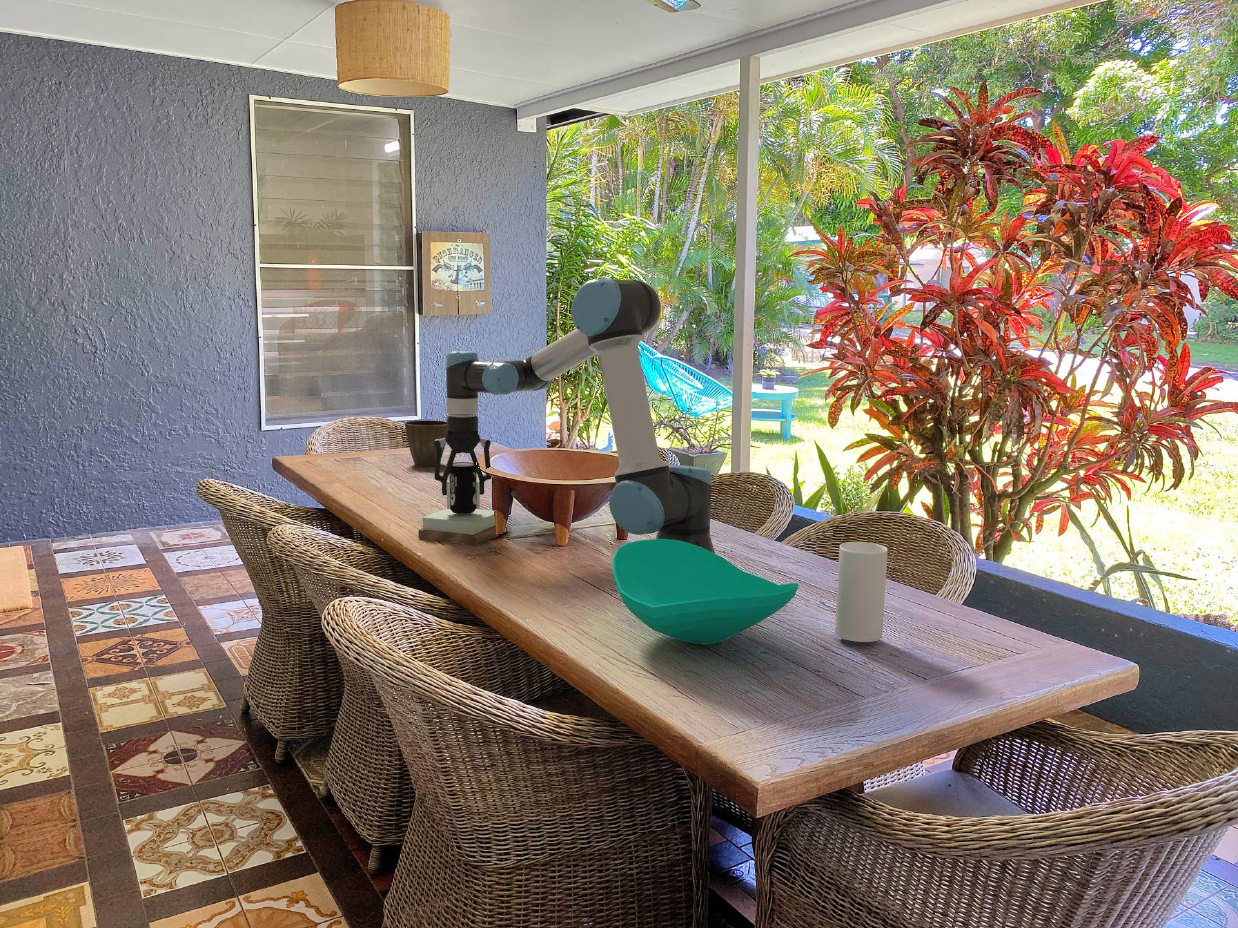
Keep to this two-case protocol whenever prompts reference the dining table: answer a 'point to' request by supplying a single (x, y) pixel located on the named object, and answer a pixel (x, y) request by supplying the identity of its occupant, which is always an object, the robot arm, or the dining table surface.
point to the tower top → (459, 521)
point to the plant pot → (425, 440)
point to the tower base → (458, 536)
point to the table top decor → (693, 591)
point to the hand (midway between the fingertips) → (463, 507)
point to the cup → (861, 591)
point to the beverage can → (463, 488)
